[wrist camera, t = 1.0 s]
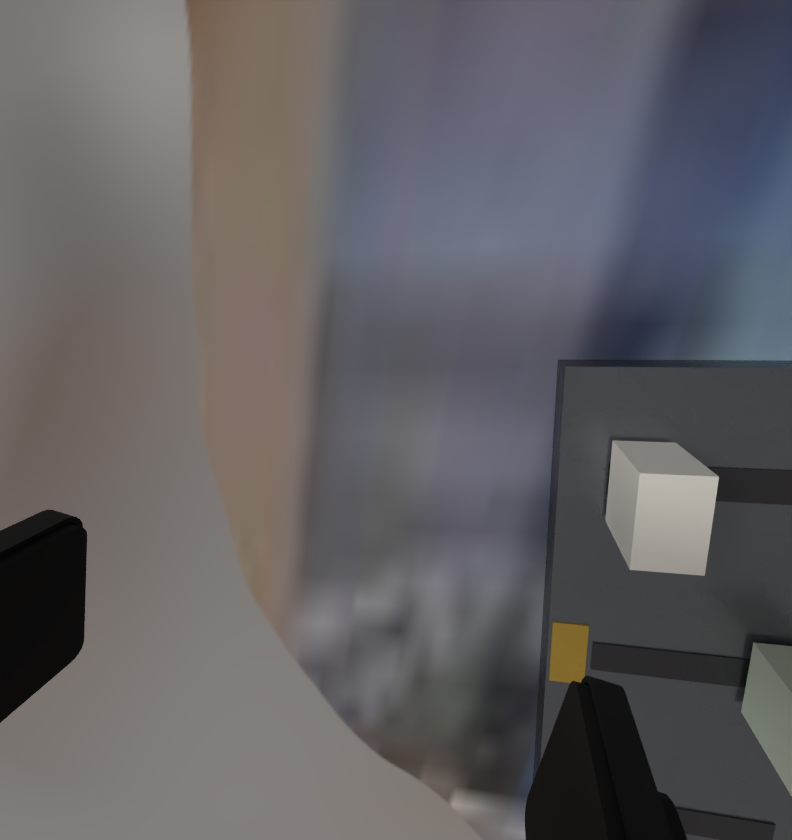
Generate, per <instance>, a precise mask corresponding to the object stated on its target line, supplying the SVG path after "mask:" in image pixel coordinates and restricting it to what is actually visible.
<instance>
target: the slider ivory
mask: <svg viewBox="0 0 792 840" xmlns="http://www.w3.org/2000/svg"><path fill="white" fill-rule="evenodd" d="M718 481H719V476H717V475H716V474H715V473H714V472H712V471H711V470H710V469H709V468H707V467H706V466H705V465H704V464H702V463H701V462H700V461H699V460H697V459H696V458H695V457H693V456H692V455H691V454H690V453H688V452H687V451H686V450H685V449H683V448H682V447H681V446H680V445H678V444H677V443H674V442H644V441H614V440H613V441H612V452H611V463H610V474H609V485H608V497H607V508H606V519H605V521H606V523H607V525H608V527H609V529H610V531H611V533H612V535H613V537H614V539H615V541H616V543H617V545H618V547H619V549H620V551H621V553H622V555H623V557H624V559H625V561H626V563H627V565H628V567H629V569H630V570H638V571H650V572H663V573H675V574H688V575H700V576H705V571H706V564H707V557H708V550H709V543H710V536H711V529H712V522H713V515H714V509H715V502H716V495H717V488H718Z"/></svg>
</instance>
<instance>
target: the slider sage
mask: <svg viewBox="0 0 792 840" xmlns="http://www.w3.org/2000/svg"><path fill="white" fill-rule="evenodd" d="M741 713H742V714H743V716H744V718H745V719H746V721H747V723H748V724H749V726H750V728H751V729H752V731H753V733H754V734H755V736H756V738H757V739H758V741H759V743H760V744H761V746H762V748H763V749H764V751H765V753H766V755H767V756H768V758H769V760H770V761H771V763H772V765H773V766H774V768H775V770H776V771H777V773H778V775H779V776H780V778H781V780H782V781H783V783H784V785H785V786H786V788H787V790H788V791H789V793H790V795H791V796H792V646H784V645H774V644H764V643H754V642H753V648H752V653H751V659H750V665H749V670H748V676H747V681H746V687H745V693H744V698H743V704H742V710H741Z"/></svg>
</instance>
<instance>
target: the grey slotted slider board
mask: <svg viewBox="0 0 792 840" xmlns="http://www.w3.org/2000/svg"><path fill="white" fill-rule="evenodd" d="M613 440H614V441H644V442H674V443H677V444H678V445H680V446H681V447H682V448H683V449H685V450H686V451H687V452H688V453H690V454H691V455H692V456H693V457H695V458H696V459H697V460H699V461H700V462H701V463H702V464H704V465H705V466H706V467H707V468H709V469H710V470H711V471H712V472H714V473H715V474H716V475H717V476H719V481H718V488H717V495H716V502H715V509H714V515H713V522H712V529H711V536H710V543H709V550H708V557H707V564H706V571H705V576H700V575H688V574H675V573H663V572H650V571H638V570H630V569H629V567H628V565H627V563H626V561H625V559H624V557H623V555H622V553H621V551H620V549H619V547H618V545H617V543H616V541H615V539H614V537H613V535H612V533H611V531H610V529H609V527H608V525H607V523H606V521H605V519H606V508H607V497H608V485H609V474H610V463H611V452H612V441H613ZM753 642H754V643H764V644H774V645H784V646H792V361H732V360H558V371H557V387H556V404H555V421H554V438H553V455H552V471H551V488H550V505H549V522H548V539H547V555H546V572H545V589H544V606H543V623H542V639H541V656H540V673H539V690H538V706H537V723H536V740H535V757H534V774H533V781H534V778H535V775H536V773H537V770H538V767H539V765H540V762H541V759H542V757H543V754H544V751H545V749H546V746H547V743H548V741H549V738H550V735H551V732H552V730H553V727H554V724H555V722H556V719H557V716H558V714H559V711H560V708H561V706H562V703H563V700H564V698H565V695H566V692H567V689H568V687H569V685H570V683H571V682H572V681H576V682H579V683H581V681H582V679H583V678H584V677H585V676H591V677H594V678H598V679H601V680H604V681H607V682H611V683H614V684H617V685H620V686H621V687H623V689H624V691H625V693H626V696H627V699H628V702H629V705H630V708H631V711H632V714H633V717H634V720H635V723H636V726H637V729H638V732H639V735H640V738H641V742H642V745H643V748H644V751H645V754H646V757H647V760H648V763H649V766H650V769H651V772H652V775H653V778H654V781H655V784H656V787H657V790H658V792H661V793H664V794H667V796H668V797H669V798H670V799H671V800H672V801H673V803H674V806H675V808H676V810H677V812H678V814H679V817H680V820H681V823H682V826H683V829H684V831H685V834H686V837H687V840H792V796H791V795H790V793H789V791H788V790H787V788H786V786H785V785H784V783H783V781H782V780H781V778H780V776H779V775H778V773H777V771H776V770H775V768H774V766H773V765H772V763H771V761H770V760H769V758H768V756H767V755H766V753H765V751H764V749H763V748H762V746H761V744H760V743H759V741H758V739H757V738H756V736H755V734H754V733H753V731H752V729H751V728H750V726H749V724H748V723H747V721H746V719H745V718H744V716H743V714H742V713H741V710H742V704H743V698H744V693H745V687H746V681H747V676H748V670H749V665H750V659H751V653H752V648H753Z"/></svg>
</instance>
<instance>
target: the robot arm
mask: <svg viewBox="0 0 792 840" xmlns="http://www.w3.org/2000/svg"><path fill="white" fill-rule="evenodd" d="M86 552H87V532H86V530H85V529H84V528H83V525H82V522H81V520H80V519H78V518H77V517H74V516H70V515H67V514H64V513H61V512H57V511H54V510H45V511H42V512H40V513H38V514H35V515H33V516H31V517H29V518H27V519H25V520H23V521H20V522H19V523H16V524H14V525H12V526H10V527H8V528H6V529H3V530H1V531H0V722H2V721H3V720H4V719H5V718H6V717H7V716H8V715H10V714H11V713H12V712H13V711H14V710H15V709H17V708H18V707H19V706H20V705H21V704H22V703H24V702H25V701H26V700H27V699H28V698H30V697H31V696H32V695H33V694H34V693H35V692H37V691H38V690H39V689H40V688H41V687H42V686H43V685H45V684H46V683H47V682H48V681H49V680H51V679H52V678H53V677H54V676H55V675H56V674H58V673H59V672H60V671H61V670H62V669H63V668H65V667H66V666H67V665H68V664H69V663H70V662H71V661H72V660H74V659H75V658H76V656H77V655H78V654H79V652H80V650H81V648H82V645H83V642H84V621H85V587H86V586H85V585H86ZM525 832H526V840H687V837H686V834H685V831H684V829H683V826H682V823H681V820H680V817H679V814H678V812H677V810H676V808H675V806H674V803H673V801H672V800H671V799H670V798H669V797H668V796H667V794H664V793H661V792H658V790H657V787H656V784H655V781H654V778H653V775H652V772H651V769H650V766H649V763H648V760H647V757H646V754H645V751H644V748H643V745H642V742H641V738H640V735H639V732H638V729H637V726H636V723H635V720H634V717H633V714H632V711H631V708H630V705H629V702H628V699H627V696H626V693H625V691H624V689H623V687H621V686H620V685H617V684H614V683H611V682H607V681H604V680H601V679H598V678H594V677H591V676H585V677H584V678H583V679H582V681H581V683H579V682H576V681H572V682H571V683H570V685H569V687H568V689H567V692H566V695H565V698H564V700H563V703H562V706H561V708H560V711H559V714H558V716H557V719H556V722H555V724H554V727H553V730H552V732H551V735H550V738H549V741H548V743H547V746H546V749H545V751H544V754H543V757H542V759H541V762H540V765H539V767H538V770H537V773H536V775H535V778H534V781H533V783H532V786H531V789H530V792H529V794H528V798H527V803H526V810H525Z"/></svg>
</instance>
